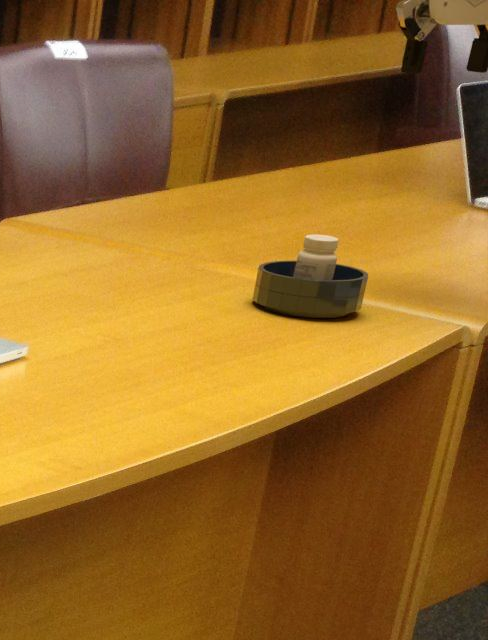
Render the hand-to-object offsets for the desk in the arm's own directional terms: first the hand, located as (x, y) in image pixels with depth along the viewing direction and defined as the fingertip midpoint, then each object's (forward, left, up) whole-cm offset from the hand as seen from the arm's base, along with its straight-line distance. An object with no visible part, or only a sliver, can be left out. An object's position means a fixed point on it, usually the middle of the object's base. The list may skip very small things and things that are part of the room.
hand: (443, 72), depth 200 cm
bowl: (-8, +19, -28) cm, 35 cm away
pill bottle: (-8, +19, -28) cm, 34 cm away
